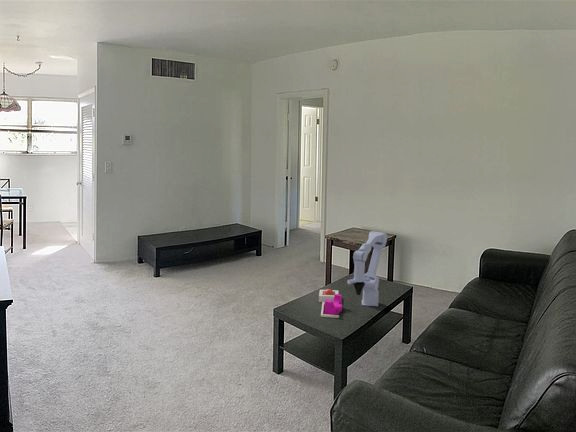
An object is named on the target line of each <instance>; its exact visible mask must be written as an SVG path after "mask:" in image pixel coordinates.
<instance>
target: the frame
mask: <svg viewBox="0 0 576 432" xmlns="http://www.w3.org/2000/svg"><path fill="white" fill-rule="evenodd" d="M324 310H325V302H321V311H320V317H321V318H333V319H334V318H336V319H340V315H339V314H337V315H328V314H325V313H324Z"/></svg>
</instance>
